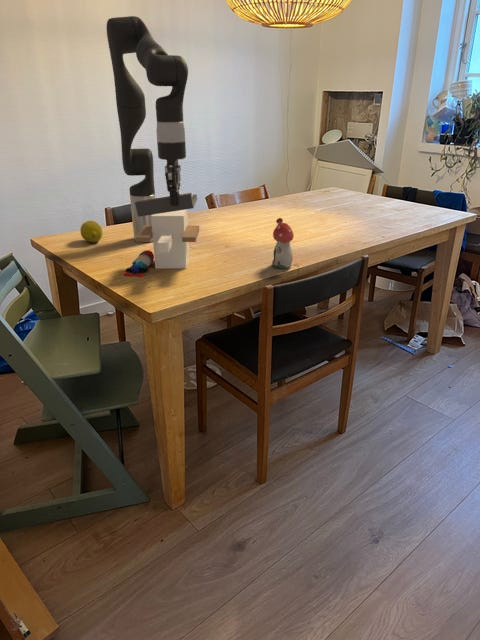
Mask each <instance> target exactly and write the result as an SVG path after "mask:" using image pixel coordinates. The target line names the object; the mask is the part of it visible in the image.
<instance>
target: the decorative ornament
mask: <svg viewBox="0 0 480 640" xmlns="http://www.w3.org/2000/svg"><path fill="white" fill-rule="evenodd" d="M283 221H284V219H283V218H282V217H279V218H277V219H276V220H275V222H276V223H277V225H276V227H274V229H273V233H272V237H273V239H274V240H275V241H276V244H275V246H274V250H273V260H272V263H271V264H272V266H273V268H275V269H278V270H285V269H289V268H291V266H292V264H293V260H294V259H293V258H294V255H293V254H294V253H293V248H292V246H291V242H292V241H293V239H294V232H293V229H292V228H291V226H290V225H289V224H288V223H286V222H283Z"/></svg>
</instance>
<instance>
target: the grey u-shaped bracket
mask: <svg viewBox="0 0 480 640" xmlns="http://www.w3.org/2000/svg"><path fill="white" fill-rule="evenodd" d="M197 195H198V194H192V192H187V193H183V194H182V193H179V195H178V206H171V205H170V195H169V196H162V197H155V198H154V199H148V200H142V201H136V202H135V206H136V210H137V214H138V217H140V216H147V215H153V214H160V213H166V212H173V211H179V210H186V209H187V210H190V209H191V210H192V209H194V208H195V205H196V203H197V201H198V196H197Z"/></svg>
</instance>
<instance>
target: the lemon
mask: <svg viewBox="0 0 480 640" xmlns="http://www.w3.org/2000/svg"><path fill="white" fill-rule="evenodd" d="M80 236H81V237H82V239H83V240H84V241H86V242H89V243H92V244H93V243H94V244H95V243H97V242H99V241H100V240H101V239H102V238H103V229H102V227H101V225H100V224H99V223H98V222H96V221H93V220H87V221H85V222H82V225H81V226H80Z"/></svg>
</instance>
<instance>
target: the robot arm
mask: <svg viewBox="0 0 480 640" xmlns="http://www.w3.org/2000/svg"><path fill="white" fill-rule="evenodd" d="M106 37H107V44H108V48H109V49H108V50H109V54H110V59H111V66H112V73H113V80H114V89H115V91H114V92H115V102H116V103H115V105H116V110H117V111H116V112H117V117H118V124H119V131H120V140H121V141H120V142H121V143H120V144H121V160H122V161H121V162H122V168H123V172H124V174H125V175H126V176H130V177H131V176H135V177H136V176H144V178H143V179H142V180H141V181H139V182H138V183H135V184H132V185H130V186H129V197H130V198H129V200H130V210H131V217H132V218H131V219H132V227H133V239H134V240H133V241H135V242H136V236H137V235H138V233H139V232H140V231H141V229H142V228H143V227H144V226H152V222H151V215H147V216H140V217H138V214H137V210H136V206H135V202H136V201H142V200H148V199H154V198H156V190H155V189H156V187H155V179H154V176H155V175H154V174H155V173H154V156H153V151H152V150H151V149H150V148H132V144H133V142H134V140H135V137H136V135H137V133H138V132H139V130H140V129H141V127H142V126H143V124H144V122H145V119H146V116H147V115H146V114H147V110H146V109H147V108H146V97H145V96H146V95H145V93H144V91H143V89H142V88H141V86H140V85H139V84H138V82H137V81H136V80H135V78H134V77H133V76H132V75H131V73H130V72H129V70H128V68H127V66H126V65H125V61H124V55H126V54H135V55H136V59H137V61H138V63H139V64H140V66H142V68H144V69H145V75H146V77H147V78H146V79H147V81H148V82H149V83H150V85H153V86H155V87H171V91H170V93H169V94H167V95H164V96H161V97H157V99H156V101H155V114H156V115H155V116H156V143H157V157H158V159H160V160H165V161H166V166H164V176H165V183H166V188H167V189H166V190H167V192H168V193H169V196H170V205H171V206H178V195H180V188H181V179H182V178H181V171H182V167H181V166H182V165H180V164H179V160H183V159H184V160H185V159H186V157H187V149H186V147H187V146H186V145H187V144H186V131H185V125H184V97H185V92H186V87H187V82H188V78H189V77H188V76H189V67H188V64H187V61H186V60H185V58H184V57H183V56H181V55H177V54H176V55H175V54H172V55H171V54H168V52H167V51H166V49H164V48H163V47H162V46H161V45H160V44H159V43H158V42H156V40H155V39H154V36H153V35H152V33H151V31H150V30H149V28H148V27H147V25H146V23H145V22H144V21H143V20H142V19H141V18H140V17H138V16H134V15H131V16H130V15H129V16H120V17H118V16H117V17H111V18H108V19H107V21H106ZM151 242H152V243H153V237H152V239H151V240H150V242H149V243H151Z"/></svg>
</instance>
